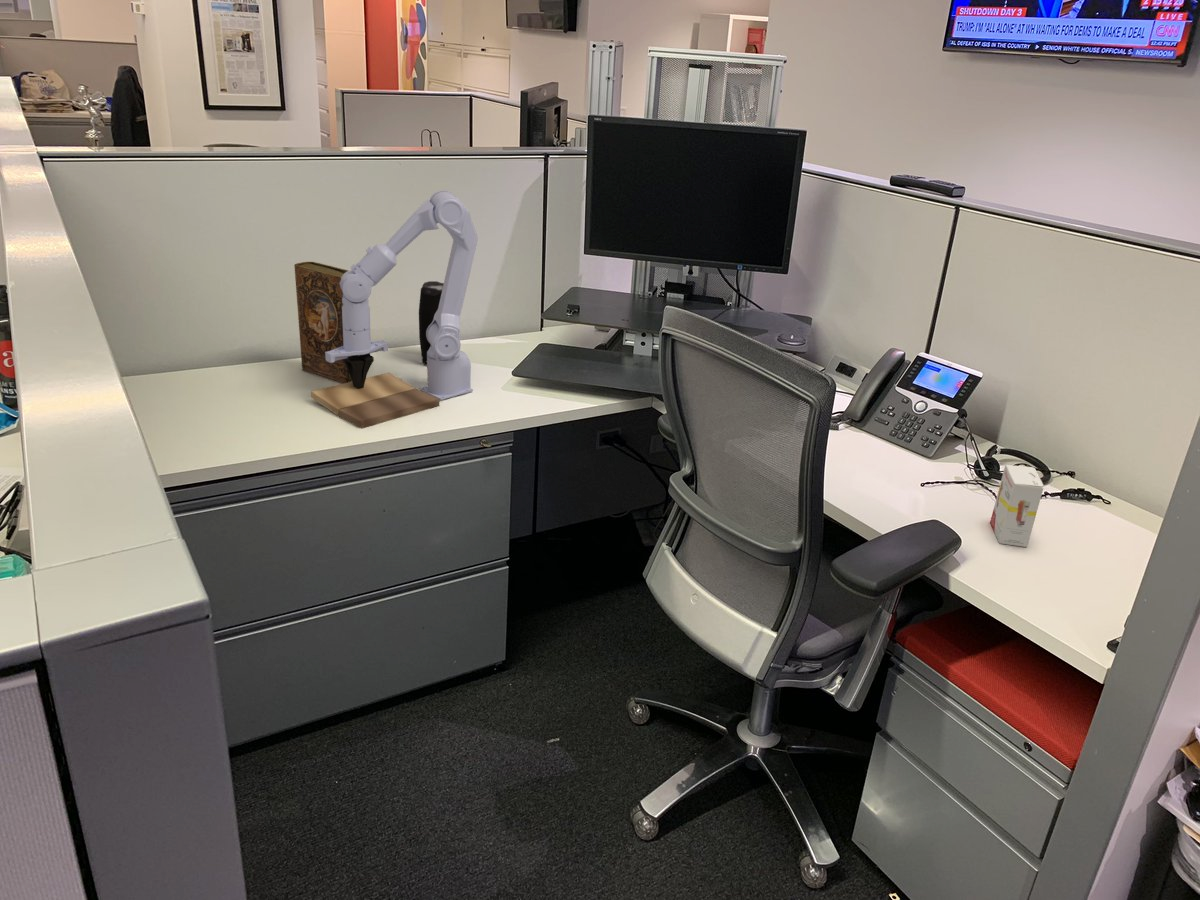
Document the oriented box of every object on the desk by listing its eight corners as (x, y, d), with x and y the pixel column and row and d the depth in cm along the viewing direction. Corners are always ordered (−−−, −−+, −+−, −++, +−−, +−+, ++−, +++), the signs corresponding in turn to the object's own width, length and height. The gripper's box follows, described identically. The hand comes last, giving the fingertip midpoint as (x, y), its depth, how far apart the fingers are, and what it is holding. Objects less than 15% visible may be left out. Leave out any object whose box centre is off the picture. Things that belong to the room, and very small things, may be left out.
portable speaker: (463, 360, 228) (463, 284, 220) (441, 371, 220) (441, 291, 212) (434, 354, 231) (434, 278, 223) (412, 364, 223) (411, 285, 215)
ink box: (988, 521, 165) (1004, 462, 160) (1017, 525, 164) (1034, 466, 159) (997, 543, 157) (1014, 482, 152) (1027, 548, 156) (1045, 487, 151)
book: (298, 369, 214) (290, 264, 204) (316, 364, 219) (309, 260, 208) (348, 386, 207) (342, 277, 196) (365, 379, 211) (360, 273, 201)
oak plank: (388, 378, 210) (388, 372, 209) (415, 394, 204) (415, 388, 203) (311, 397, 196) (311, 391, 195) (337, 415, 190) (337, 409, 190)
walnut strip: (416, 395, 204) (416, 388, 203) (439, 405, 199) (439, 399, 198) (339, 416, 190) (338, 409, 189) (361, 428, 185) (361, 421, 185)
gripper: (374, 317, 202) (375, 375, 207) (316, 328, 192) (319, 388, 197) (393, 325, 198) (394, 384, 203) (335, 336, 188) (337, 398, 193)
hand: (358, 387), depth 200 cm, fingers closed, pressing on oak plank
